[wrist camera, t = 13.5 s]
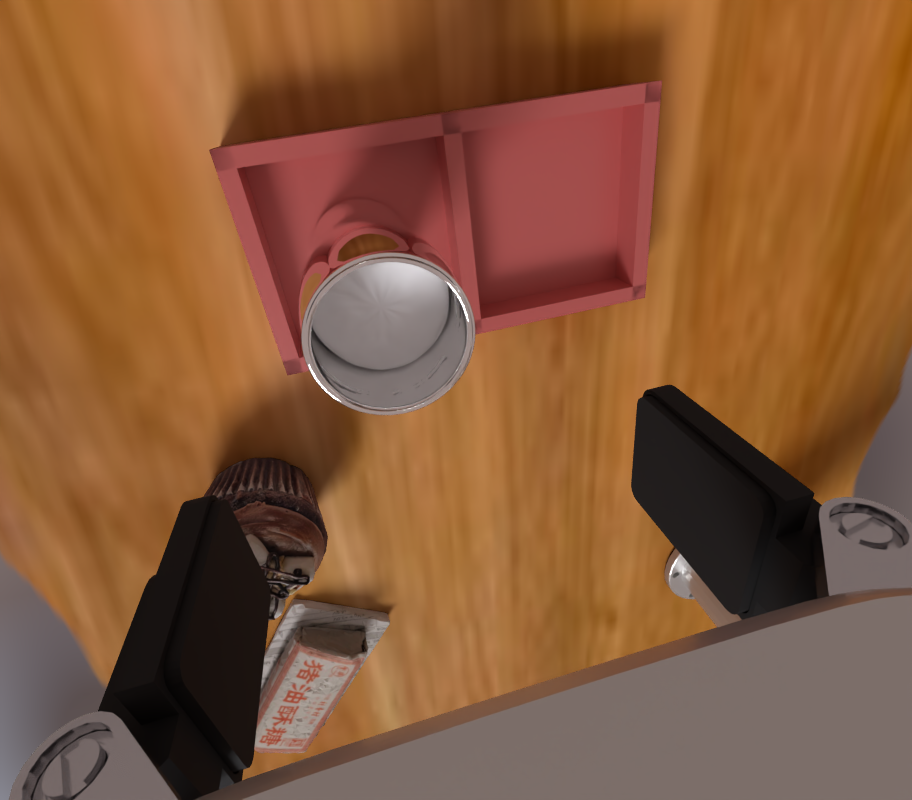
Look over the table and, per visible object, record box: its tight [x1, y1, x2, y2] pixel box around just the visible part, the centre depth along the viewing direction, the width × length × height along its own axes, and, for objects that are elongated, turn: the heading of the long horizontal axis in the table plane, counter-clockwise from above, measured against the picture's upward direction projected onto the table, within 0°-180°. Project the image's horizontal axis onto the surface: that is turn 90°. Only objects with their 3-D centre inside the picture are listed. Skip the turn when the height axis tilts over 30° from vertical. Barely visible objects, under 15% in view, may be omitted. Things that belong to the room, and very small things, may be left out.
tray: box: [209, 81, 662, 375], centre depth 31 cm, size 25×13×3 cm, turn 97°
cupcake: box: [204, 458, 328, 620], centre depth 35 cm, size 10×10×10 cm
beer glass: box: [298, 198, 475, 415], centre depth 25 cm, size 7×7×15 cm
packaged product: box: [254, 599, 390, 753], centre depth 49 cm, size 18×5×10 cm
